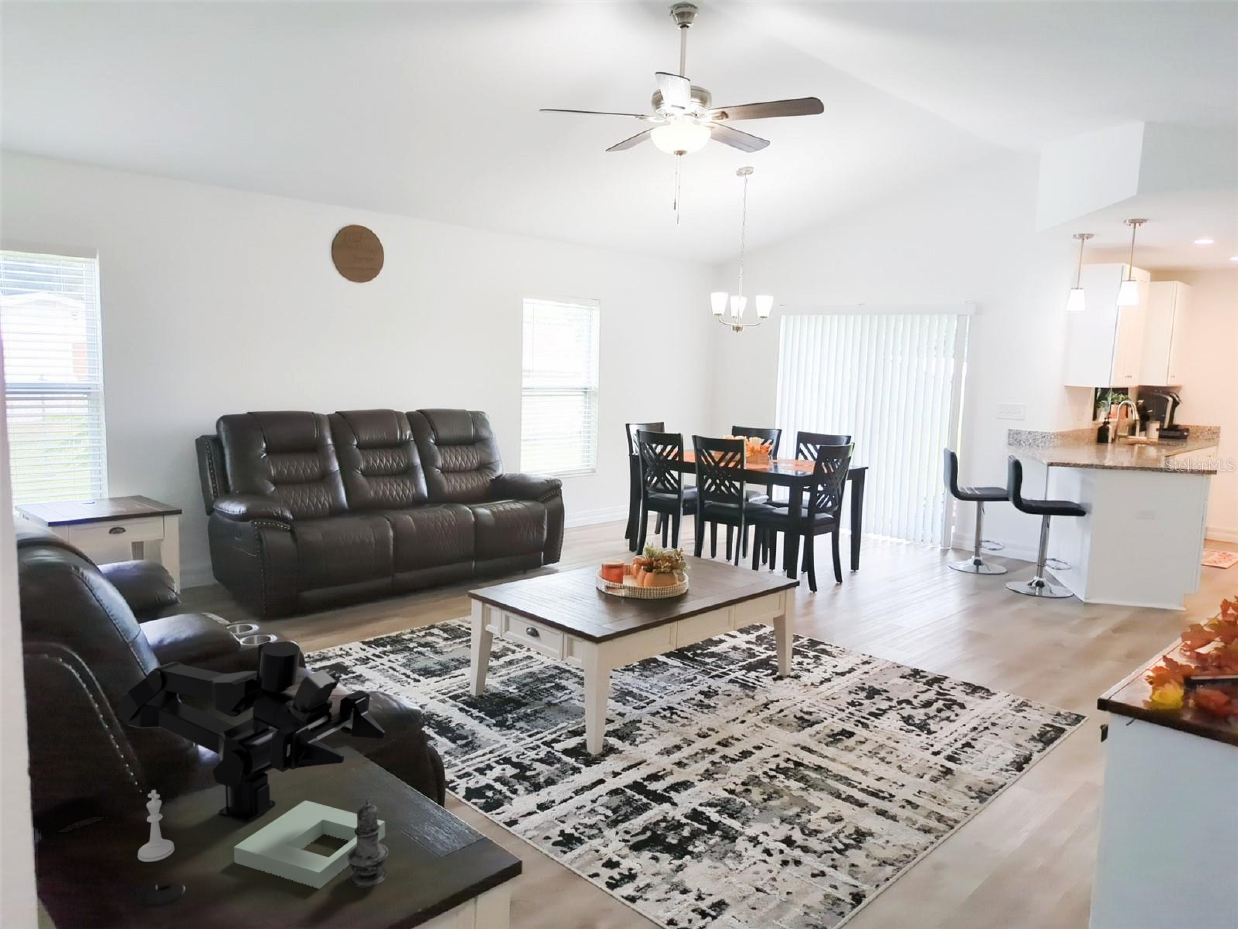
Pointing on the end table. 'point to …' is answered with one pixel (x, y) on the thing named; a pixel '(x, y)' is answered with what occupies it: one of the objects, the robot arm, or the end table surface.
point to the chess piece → (155, 834)
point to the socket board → (301, 844)
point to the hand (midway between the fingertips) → (364, 747)
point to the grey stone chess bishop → (367, 850)
